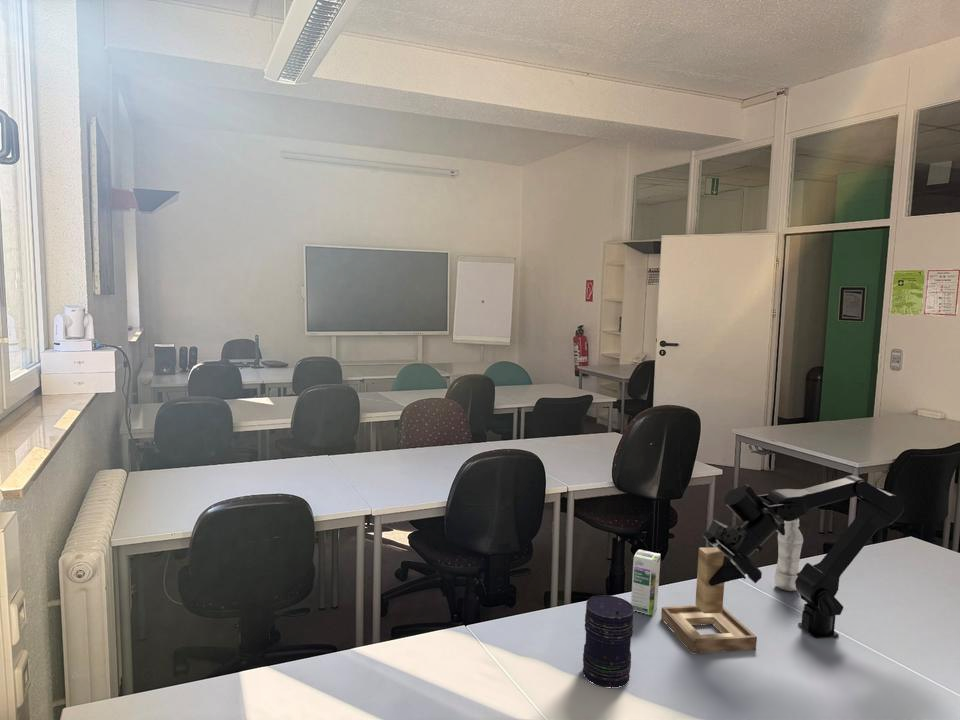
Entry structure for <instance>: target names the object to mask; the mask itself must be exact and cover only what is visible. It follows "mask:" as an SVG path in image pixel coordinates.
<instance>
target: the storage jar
mask: <svg viewBox="0 0 960 720" xmlns="http://www.w3.org/2000/svg"><path fill="white" fill-rule="evenodd" d="M585 606H586V607H585V615H584V630H585V643H584V645H583V655H582V663H583V664H582V665H583V666H582V675H583V674H584V675H585V677H586V678H587V679H588V680H589V681H591V682H593V683H594V684H596V685H595V686H597V685H599V686H598V687H600V686H602V687H601V688H603V687H611V688H610V689H613V688H612V687H619V686H623V685H625V684H626V683H627V682H628V681H630V679H631V675H630V673H631V667H632V653H631V652H632V651H631V643H632V641H631V639H632V637H633V635H634V634H633V633H634V630H633V629H634V612H635V611H634V608H633V606H632V605H631V602H629V601H627V600H626V599H623V598H622V597H617V596H616V595H615V596H614V595H607V594H605V595H604V594H603V595H602V594H601V595H593V596H591V597H589V598H588V599H587V600H586V605H585ZM584 675H583V676H584ZM585 677H584V678H585ZM586 678H585V679H586ZM629 678H630V679H629ZM587 679H586V680H587ZM588 680H587V681H588ZM589 681H588V682H589ZM591 682H590V683H591ZM628 683H629V682H628ZM628 683H627V684H628ZM594 684H593V685H594ZM627 684H626V685H627ZM626 685H625V686H626ZM623 687H624V686H623Z"/></svg>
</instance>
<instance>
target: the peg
mask: <svg viewBox="0 0 960 720" xmlns="http://www.w3.org/2000/svg"><path fill="white" fill-rule="evenodd" d="M724 556H725V557H726V558H727V555H726V554H724V553H723V552H722V551H721V550H720V549H718V548H717V547H712V548H709V547H698V559H697V574H696V575H697V576H696V586H695V589H696V590H695V603H694V604H695V605H697V607H698V608H699V609H700V610H701V611H702V612H703V613H722V610H723V607H724V595H725V594H724V593H725V592H724V591H725V582H724V583H721V584H717V585H714V586H711V585H710V584H709V583H708V582H709V581H710V579H711V578H712V577H713V576H714V575H715V573H716V572H717V571H718V570H719V569H720V568H721V567H722V565H723V561H724Z"/></svg>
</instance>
